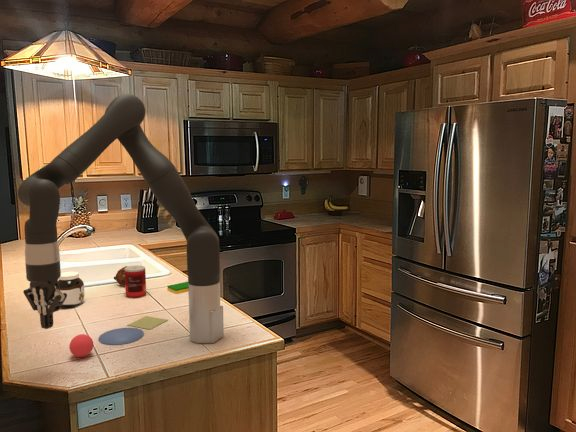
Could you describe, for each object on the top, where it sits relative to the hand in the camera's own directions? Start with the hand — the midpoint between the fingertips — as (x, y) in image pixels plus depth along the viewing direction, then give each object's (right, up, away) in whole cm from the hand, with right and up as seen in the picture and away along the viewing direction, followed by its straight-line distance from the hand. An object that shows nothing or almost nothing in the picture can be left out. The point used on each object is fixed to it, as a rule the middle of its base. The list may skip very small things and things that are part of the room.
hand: (47, 327), depth 117 cm
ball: (+4, -7, +10) cm, 13 cm away
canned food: (+1, -3, +64) cm, 65 cm away
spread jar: (-21, -5, +54) cm, 58 cm away
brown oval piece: (-8, -1, +79) cm, 79 cm away
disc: (+10, -8, +24) cm, 28 cm away
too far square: (+15, -7, +35) cm, 39 cm away
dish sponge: (+19, -3, +73) cm, 76 cm away
